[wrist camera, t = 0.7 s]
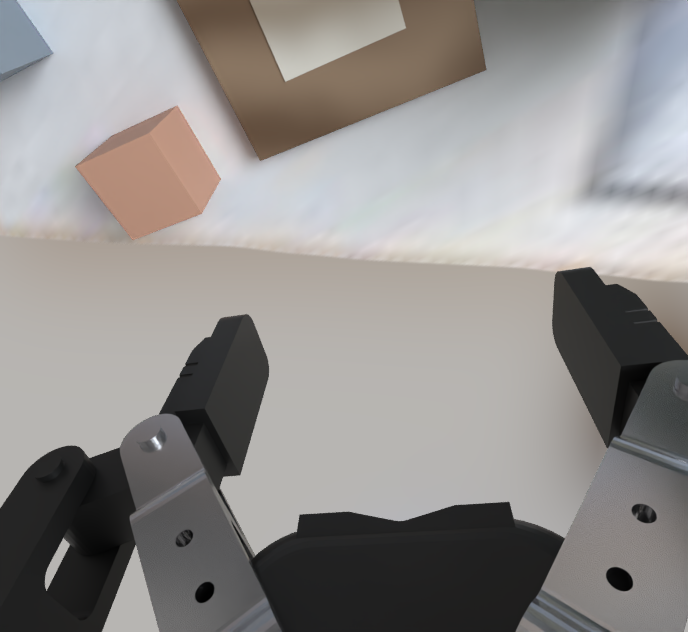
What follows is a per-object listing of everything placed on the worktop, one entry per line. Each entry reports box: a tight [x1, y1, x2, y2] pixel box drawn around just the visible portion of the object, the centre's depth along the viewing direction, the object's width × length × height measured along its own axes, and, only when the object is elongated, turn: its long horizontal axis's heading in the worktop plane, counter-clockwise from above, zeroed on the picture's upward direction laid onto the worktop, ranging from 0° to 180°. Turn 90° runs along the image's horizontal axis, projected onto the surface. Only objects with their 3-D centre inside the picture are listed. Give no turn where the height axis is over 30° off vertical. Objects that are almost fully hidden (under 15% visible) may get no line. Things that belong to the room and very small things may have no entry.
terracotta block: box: [75, 106, 221, 240], centre depth 28 cm, size 5×5×5 cm
